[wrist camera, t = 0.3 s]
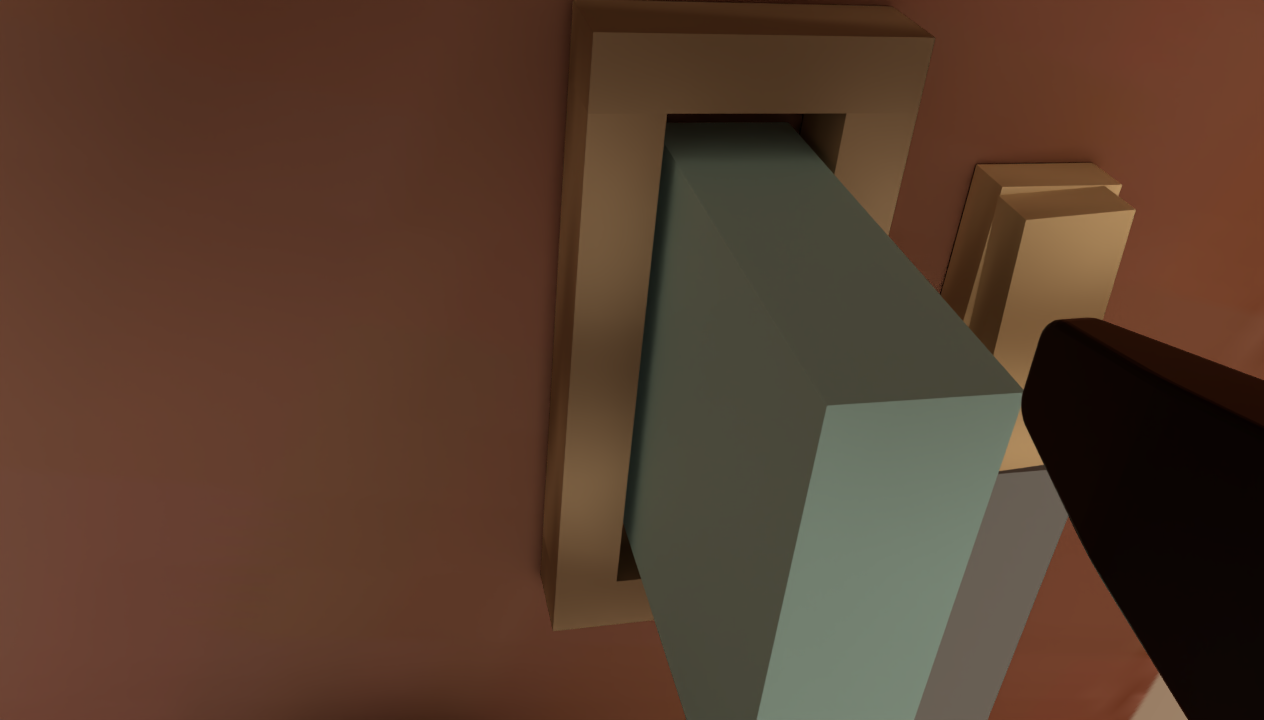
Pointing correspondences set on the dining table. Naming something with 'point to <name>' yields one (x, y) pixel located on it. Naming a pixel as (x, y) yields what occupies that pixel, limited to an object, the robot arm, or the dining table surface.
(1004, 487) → the mat
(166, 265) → the dining table surface
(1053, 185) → the offcut stack
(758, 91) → the rack
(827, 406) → the panel
